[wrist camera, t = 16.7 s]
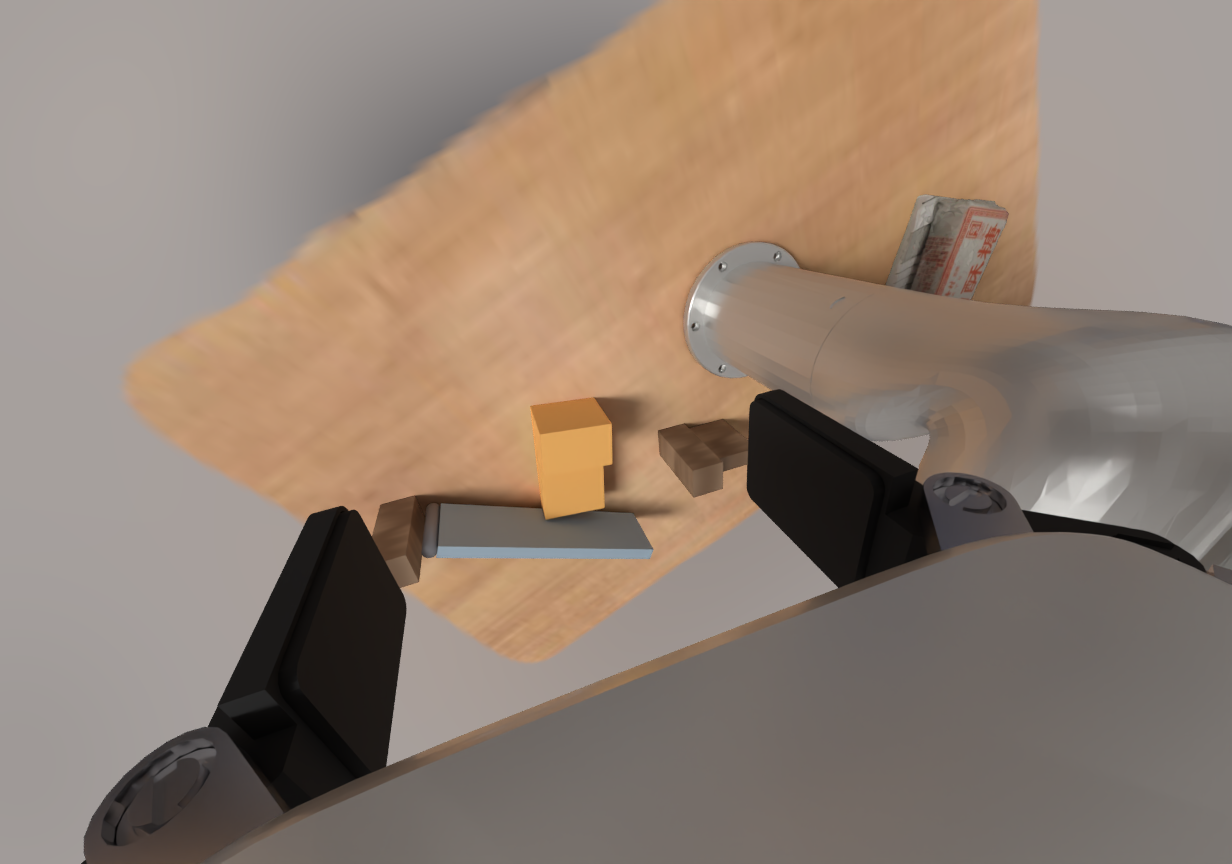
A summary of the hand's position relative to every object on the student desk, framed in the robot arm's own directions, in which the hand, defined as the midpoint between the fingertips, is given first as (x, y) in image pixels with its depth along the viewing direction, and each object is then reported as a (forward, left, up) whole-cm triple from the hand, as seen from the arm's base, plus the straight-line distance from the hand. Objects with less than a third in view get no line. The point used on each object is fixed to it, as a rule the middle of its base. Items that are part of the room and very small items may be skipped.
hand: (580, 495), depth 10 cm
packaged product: (-44, +8, -29) cm, 53 cm away
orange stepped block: (-3, +16, -29) cm, 33 cm away
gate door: (+1, +22, -28) cm, 35 cm away
